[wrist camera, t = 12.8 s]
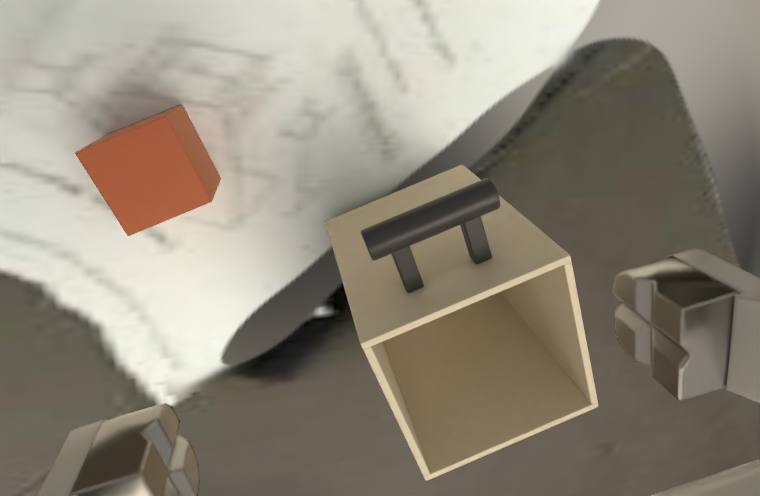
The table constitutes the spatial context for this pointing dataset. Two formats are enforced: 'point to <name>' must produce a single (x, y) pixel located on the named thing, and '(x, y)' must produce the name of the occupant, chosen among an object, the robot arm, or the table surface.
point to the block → (152, 170)
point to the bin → (463, 317)
